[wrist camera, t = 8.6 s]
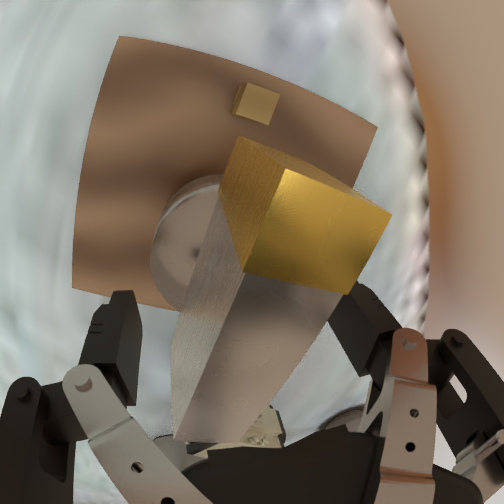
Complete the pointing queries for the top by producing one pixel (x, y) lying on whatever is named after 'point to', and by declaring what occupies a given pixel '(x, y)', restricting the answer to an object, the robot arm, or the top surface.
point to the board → (185, 149)
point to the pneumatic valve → (249, 435)
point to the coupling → (253, 280)
